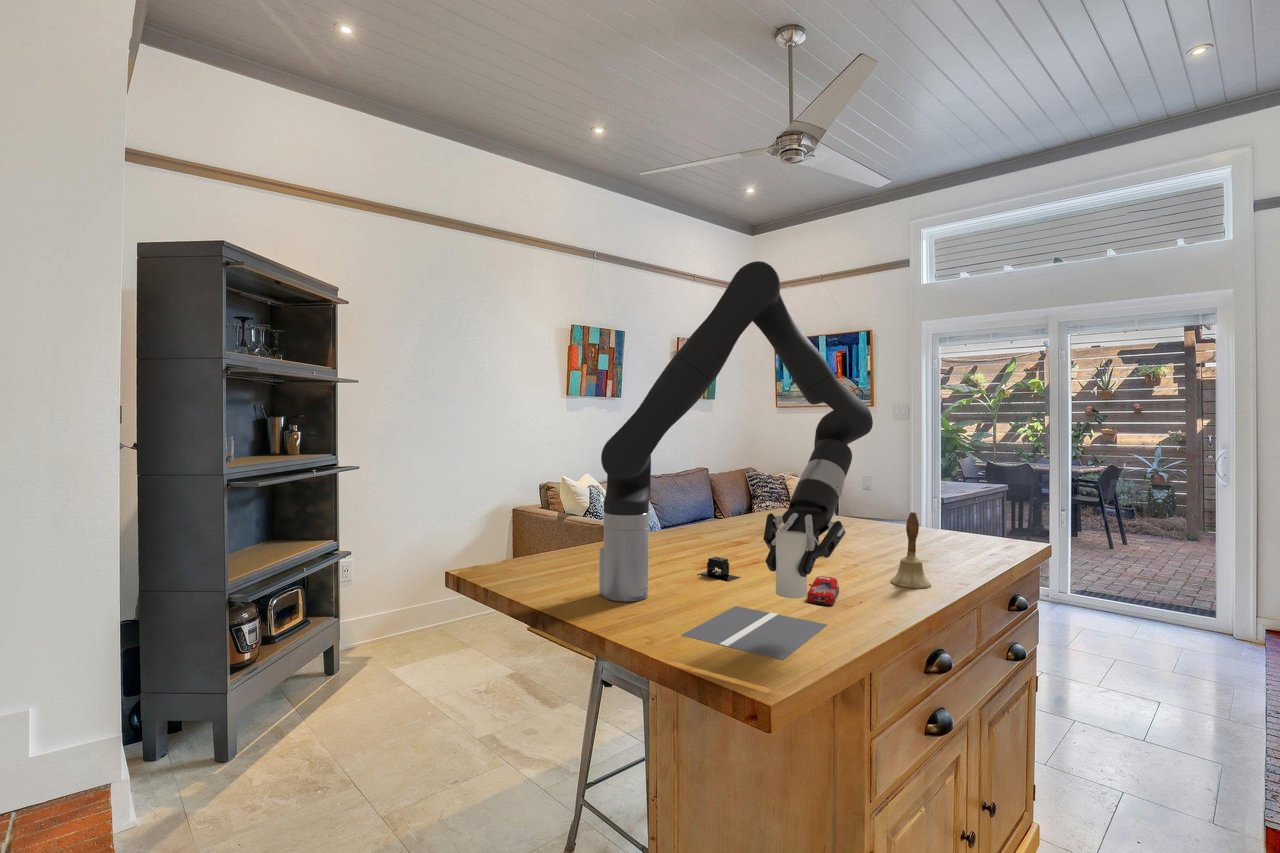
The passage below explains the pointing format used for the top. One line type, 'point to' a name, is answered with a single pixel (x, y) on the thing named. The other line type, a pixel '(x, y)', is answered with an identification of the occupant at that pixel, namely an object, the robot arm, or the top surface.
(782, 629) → the gray striped mat
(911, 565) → the hand bell
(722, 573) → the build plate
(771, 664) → the top surface
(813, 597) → the race car
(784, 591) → the white cylinder
